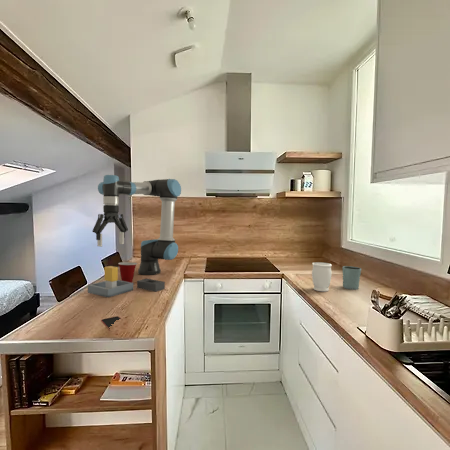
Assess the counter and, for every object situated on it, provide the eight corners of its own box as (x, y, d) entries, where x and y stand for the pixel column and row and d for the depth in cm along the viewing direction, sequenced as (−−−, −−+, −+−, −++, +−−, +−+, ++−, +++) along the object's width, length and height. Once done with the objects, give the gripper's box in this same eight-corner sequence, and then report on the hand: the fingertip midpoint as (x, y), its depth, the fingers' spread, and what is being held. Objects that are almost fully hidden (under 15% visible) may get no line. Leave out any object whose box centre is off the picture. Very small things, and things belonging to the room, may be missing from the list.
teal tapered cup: (338, 286, 173) (338, 266, 173) (351, 285, 177) (351, 265, 176) (350, 290, 164) (351, 269, 163) (364, 289, 167) (365, 268, 167)
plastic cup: (140, 281, 176) (140, 261, 175) (128, 285, 166) (129, 264, 165) (126, 279, 180) (126, 260, 179) (113, 283, 170) (113, 263, 169)
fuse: (110, 287, 156) (110, 265, 156) (117, 289, 153) (117, 267, 153) (104, 289, 153) (104, 267, 153) (111, 291, 150) (112, 268, 150)
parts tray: (113, 285, 164) (113, 279, 164) (133, 290, 156) (133, 282, 156) (87, 292, 150) (87, 284, 150) (108, 297, 142) (108, 289, 142)
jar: (318, 292, 158) (319, 265, 157) (307, 287, 168) (308, 262, 167) (334, 291, 161) (335, 265, 160) (323, 286, 171) (324, 261, 170)
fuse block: (146, 285, 167) (146, 278, 167) (164, 288, 160) (164, 281, 160) (137, 287, 161) (137, 280, 161) (155, 291, 154) (155, 284, 154)
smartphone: (118, 315, 118) (130, 326, 107) (118, 317, 118) (130, 328, 107) (100, 319, 113) (111, 331, 102) (100, 321, 113) (111, 333, 102)
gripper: (125, 205, 164) (125, 242, 165) (84, 204, 142) (84, 246, 143) (134, 205, 160) (134, 243, 161) (94, 204, 139) (94, 248, 139)
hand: (111, 245), depth 152 cm, fingers open, 13 cm apart
